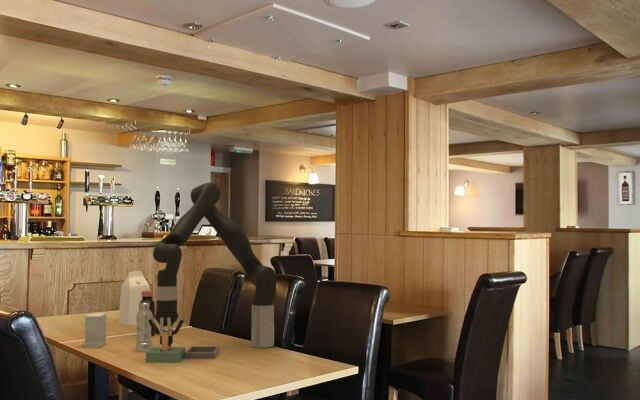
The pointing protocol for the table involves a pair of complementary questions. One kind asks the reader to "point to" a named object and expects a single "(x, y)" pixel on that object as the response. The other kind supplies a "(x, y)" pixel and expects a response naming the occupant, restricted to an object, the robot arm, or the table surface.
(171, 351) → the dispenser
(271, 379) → the table surface
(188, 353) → the tray
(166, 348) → the tan wooden plank
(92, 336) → the small box
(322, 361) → the table surface
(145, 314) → the plastic bottle
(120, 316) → the milk
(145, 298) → the vinegar
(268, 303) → the robot arm
